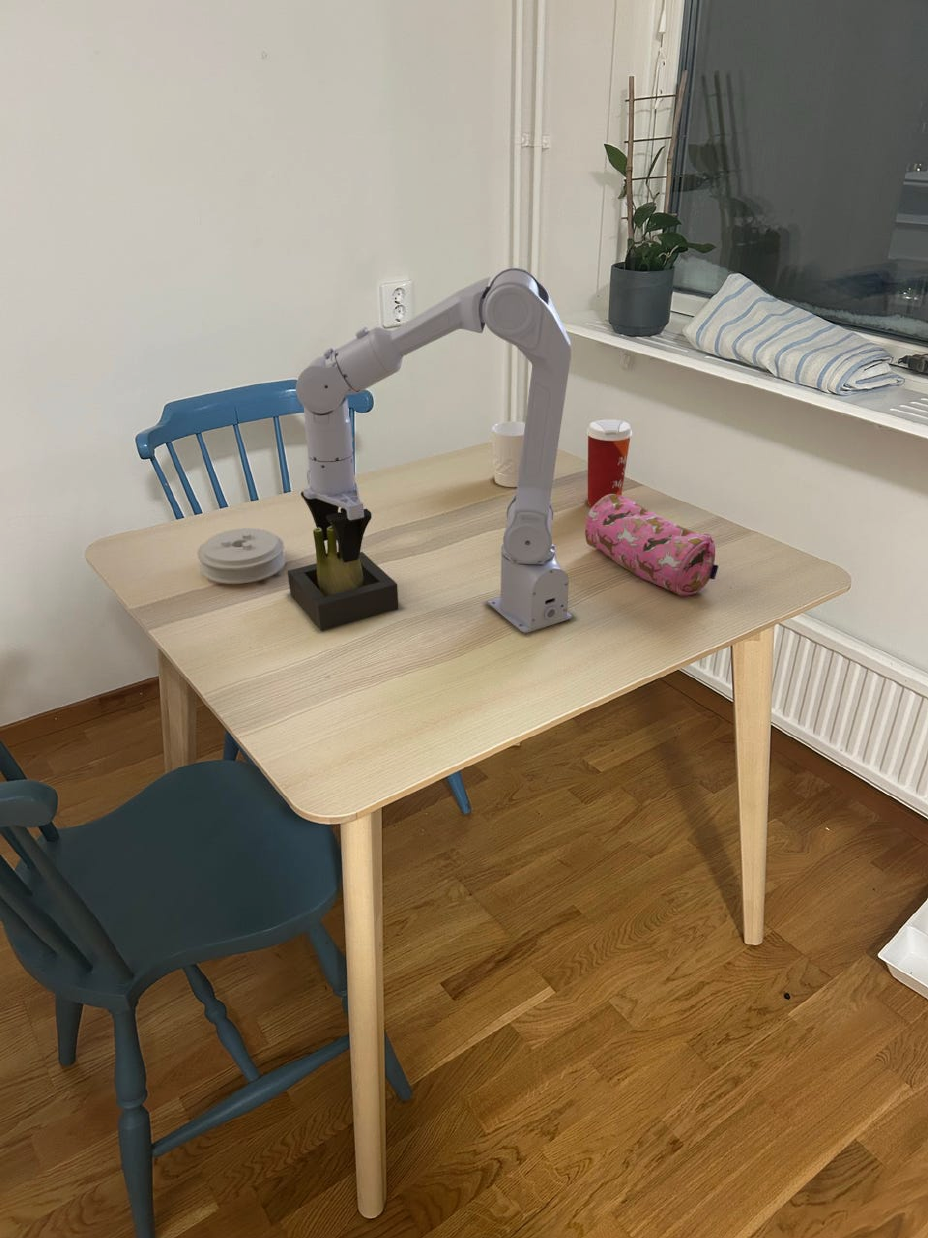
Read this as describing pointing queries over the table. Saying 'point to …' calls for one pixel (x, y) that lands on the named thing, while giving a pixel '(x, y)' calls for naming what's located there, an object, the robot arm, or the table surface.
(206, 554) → the lid
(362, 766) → the table surface
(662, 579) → the pencil case
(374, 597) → the holder
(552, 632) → the table surface
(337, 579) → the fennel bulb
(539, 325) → the robot arm
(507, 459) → the white cup
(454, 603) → the table surface
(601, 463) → the paper cup
